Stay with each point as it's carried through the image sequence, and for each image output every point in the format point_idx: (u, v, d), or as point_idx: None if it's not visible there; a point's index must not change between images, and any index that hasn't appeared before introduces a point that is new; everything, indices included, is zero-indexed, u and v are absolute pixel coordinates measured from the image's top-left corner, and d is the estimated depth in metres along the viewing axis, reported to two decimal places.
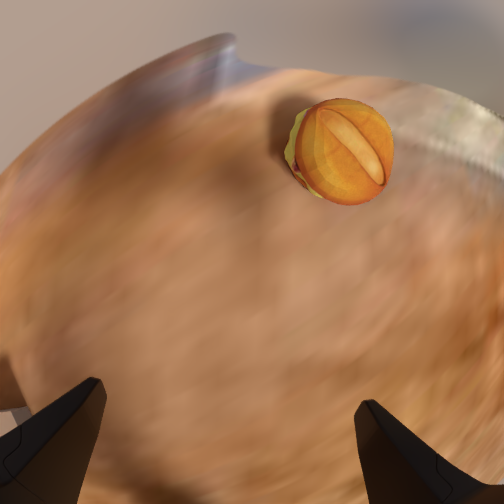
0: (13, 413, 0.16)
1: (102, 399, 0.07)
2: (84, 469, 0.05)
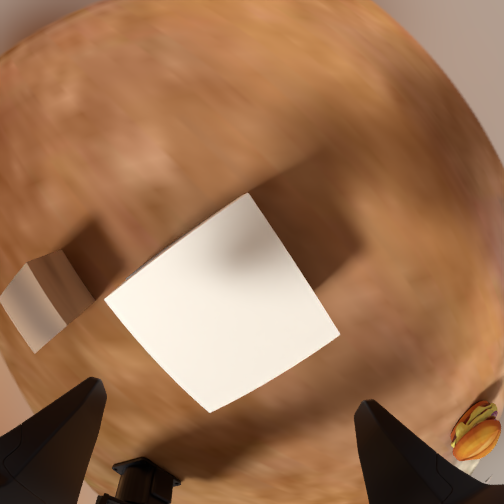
0: None
1: (102, 399, 0.07)
2: (84, 469, 0.05)
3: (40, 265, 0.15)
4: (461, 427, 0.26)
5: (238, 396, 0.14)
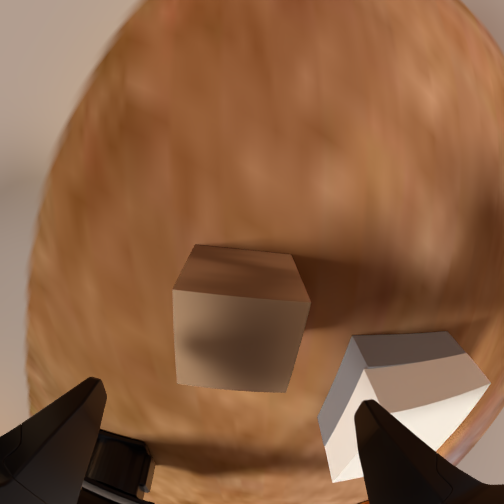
0: None
1: (102, 399, 0.07)
2: (84, 469, 0.05)
3: None
4: None
5: (360, 476, 0.14)
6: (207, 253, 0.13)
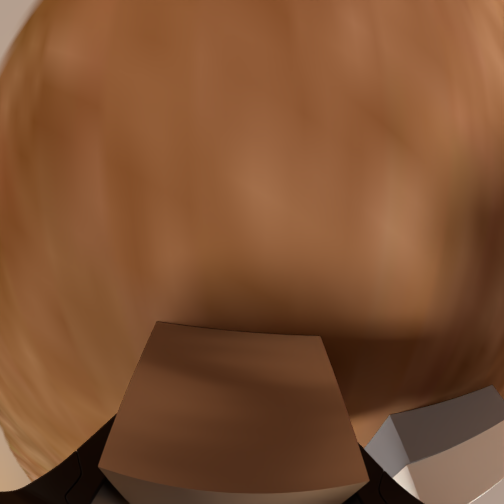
0: None
1: None
2: None
3: None
4: None
5: None
6: (173, 349, 0.07)
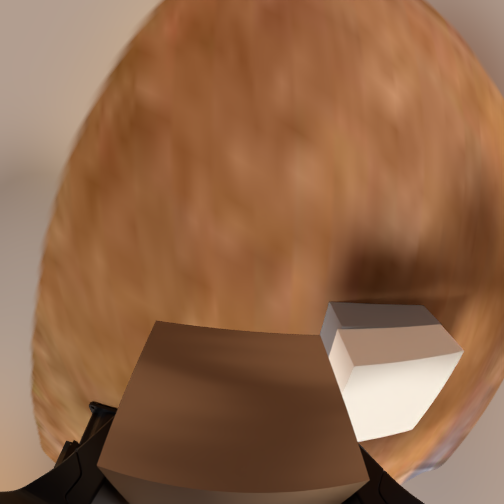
0: None
1: None
2: None
3: None
4: None
5: None
6: (173, 348, 0.07)
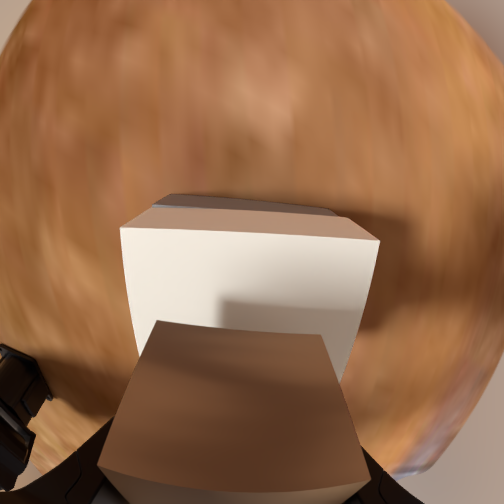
0: None
1: None
2: None
3: None
4: None
5: None
6: (174, 347, 0.07)
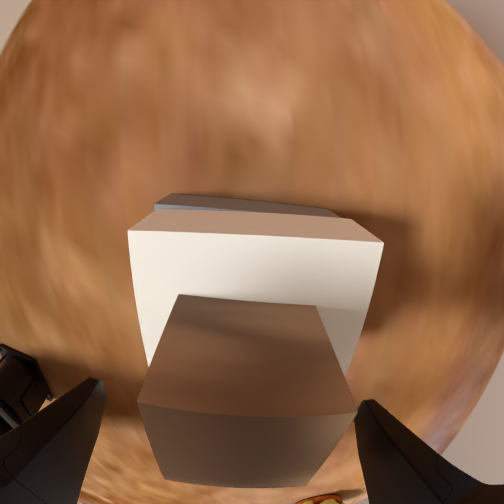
0: None
1: (102, 399, 0.07)
2: (84, 469, 0.05)
3: None
4: None
5: None
6: (194, 314, 0.09)
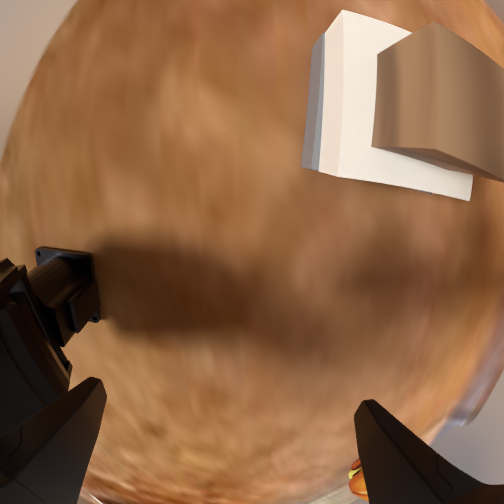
0: None
1: (102, 399, 0.07)
2: (84, 469, 0.05)
3: None
4: None
5: (379, 180, 0.12)
6: None
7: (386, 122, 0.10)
